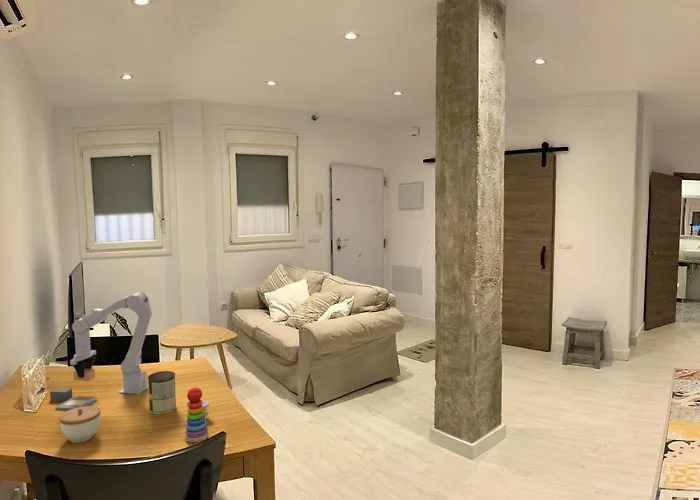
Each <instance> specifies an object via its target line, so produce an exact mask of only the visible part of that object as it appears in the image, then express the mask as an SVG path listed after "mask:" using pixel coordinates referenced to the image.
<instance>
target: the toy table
mask: <svg viewBox="0 0 700 500" xmlns="http://www.w3.org/2000/svg"><path fill="white" fill-rule="evenodd" d="M200 400H202V402H203V404H202V406H203V407H204V410H203V411H204V416H205V417H207V416H208V414H207V413H205V411H207V410H208V409H207V408H208V407H209V406H210V405H209V402H208V401H207V400H206V399H203V398H201V399H200ZM188 402H189V400H188V399H187V400H186V405H187V406H188Z"/></svg>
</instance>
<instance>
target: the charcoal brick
mask: <svg viewBox="0 0 700 500" xmlns="http://www.w3.org/2000/svg"><path fill="white" fill-rule="evenodd" d="M49 396H50V397H49V398H50V401H54V402H55V401H56V402H65V401H67V400H69V399H71V398H72V397H73V389H72V388H65V387H64V388H63V387H57V388H54V389H51V390H50V391H49Z"/></svg>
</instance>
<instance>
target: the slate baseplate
mask: <svg viewBox="0 0 700 500" xmlns="http://www.w3.org/2000/svg"><path fill="white" fill-rule="evenodd" d="M97 400H98V398H93V397H92V398H91V397H73V396H72V398H70V399H69V400H67V401H63V402H62V403H60V404H59V405H57V406H56V407H55V410H65V411H68V410H71V409H74V408H78V407H83V406H91V405H92V404H93V403H95V402H97Z"/></svg>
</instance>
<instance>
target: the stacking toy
mask: <svg viewBox="0 0 700 500" xmlns="http://www.w3.org/2000/svg"><path fill="white" fill-rule="evenodd" d="M202 397H203V391H202V389H201V388H199V387H196V386H195V387H194V386H193V387H191V388H190V389H188V391H187V394H186V398H187V401H188V400H189V402H188V405H187V407H188V408H187V410H186V411H187V412H186V420H185V422H186V424H185V435H184V440H185V441H186V442H188V441H189V442H188V443H191V442H196V443H201V442H203V441H205V440H206V439H207V438H208V437H209V431H208V430H209V428H208V425H207V421H206V420H207V419H206V418H205V416H204V411H203V410H204V407H203V406H202V404H203V402H202V400H200V399H202ZM202 440H203V441H202ZM200 441H201V442H200Z"/></svg>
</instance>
